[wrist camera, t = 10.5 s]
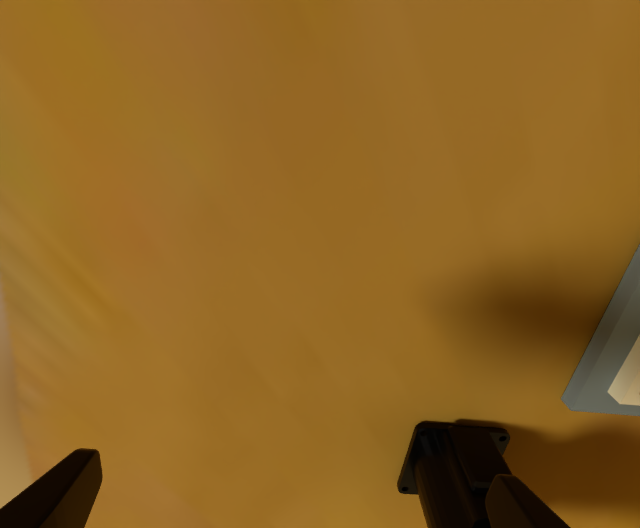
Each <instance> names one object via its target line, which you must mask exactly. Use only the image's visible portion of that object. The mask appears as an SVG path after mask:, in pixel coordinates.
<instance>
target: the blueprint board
mask: <svg viewBox="0 0 640 528" xmlns="http://www.w3.org/2000/svg"><path fill="white" fill-rule="evenodd" d="M561 400H562V401H563V402H564V403H565V404H566V405H567V407H568V408H569V409H570V410H571V411H583V412H596V413H609V414H621V415H634V416H640V244H639V246H638V248H637V250H636V252H635V254H634V256H633V258H632V260H631V262H630V264H629V266H628V268H627V270H626V272H625V274H624V276H623V278H622V280H621V282H620V284H619V286H618V288H617V290H616V292H615V294H614V296H613V298H612V299H611V301H610V303H609V305H608V307H607V309H606V311H605V313H604V315H603V317H602V319H601V321H600V323H599V325H598V327H597V329H596V331H595V333H594V335H593V337H592V339H591V341H590V343H589V345H588V347H587V349H586V351H585V353H584V355H583V357H582V359H581V361H580V362H579V364H578V366H577V368H576V370H575V372H574V374H573V376H572V378H571V380H570V382H569V384H568V386H567V388H566V390H565V392H564V394H563V396H562V398H561Z"/></svg>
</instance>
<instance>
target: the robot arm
mask: <svg viewBox="0 0 640 528" xmlns="http://www.w3.org/2000/svg"><path fill="white" fill-rule="evenodd" d="M509 440H510V436H509V434H508V432H507V431H506V430H505V429H501V428H488V427H474V426H460V425H446V424H433V423H420V424H418V425H416V427H415V429H414V432H413V435H412V438H411V442H410V445H409V448H408V451H407V454H406V457H405V460H404V464H403V467H402V470H401V473H400V476H399V479H398V482H397V487H398V491H399V492H400V493H403V494H418V495H419V499H420V502H421V506H422V509H423V513H424V516H425V520H426V523H427V527H428V528H570V527H569V526H568V525H567V524H566V523H565V522H564V521H563V520H562V519H561V518H560V517H559V516H558V515H557V514H556V513H554V512H553V511H552V510H551V509H550V508H549V507H548V506H547V505H546V504H545V503H544V502H543V501H542V500H541V499H540V498H539V497H538V496H537V495H535V494H534V493H533V492H532V491H531V490H530V489H529V488H528V487H527V486H526V485H525V484H524V483H523V482H522V481H521V480H520V479H518V478H517V477H516V476H514V475H512V473H511V471H510V469H509V467H508V466H507V464H506V462H505V460H504V458H503V457H502V455H503V453H504V451H505V448H506V446H507V444H508V442H509ZM101 483H102V468H101V461H100V454H99V452H98V450H96V449H84V448H81V449H77V450H75V451H73V452H72V453H71V454H69V455H68V456H67V457H66V458H64V459H63V460H62V461H60V462H59V463H58V464H57V465H55V466H54V467H53V468H52V469H50V470H49V471H48V472H46V473H45V474H44V475H43V476H41V477H40V478H39V479H38V480H36V481H35V482H34V483H33V484H31V485H30V486H29V487H28V488H26V489H25V490H24V491H22V492H21V493H20V494H19V495H17V496H16V497H15V498H13V499H12V500H11V501H10V502H8V503H7V504H6V505H5V506H3V507H2V508H1V509H0V528H84V527H85V524H86V522H87V519H88V517H89V514H90V512H91V509H92V507H93V504H94V502H95V499H96V496H97V494H98V491H99V489H100V486H101Z"/></svg>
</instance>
